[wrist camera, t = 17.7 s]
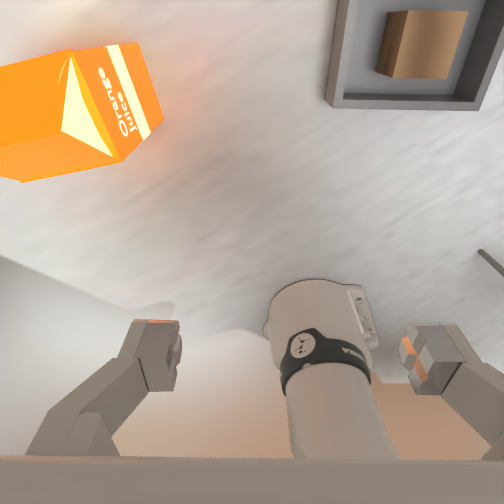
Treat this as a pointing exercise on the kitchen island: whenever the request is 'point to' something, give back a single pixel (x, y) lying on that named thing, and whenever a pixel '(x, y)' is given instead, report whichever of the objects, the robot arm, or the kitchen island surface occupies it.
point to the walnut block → (420, 43)
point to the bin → (405, 89)
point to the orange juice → (74, 111)
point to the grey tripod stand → (492, 262)
